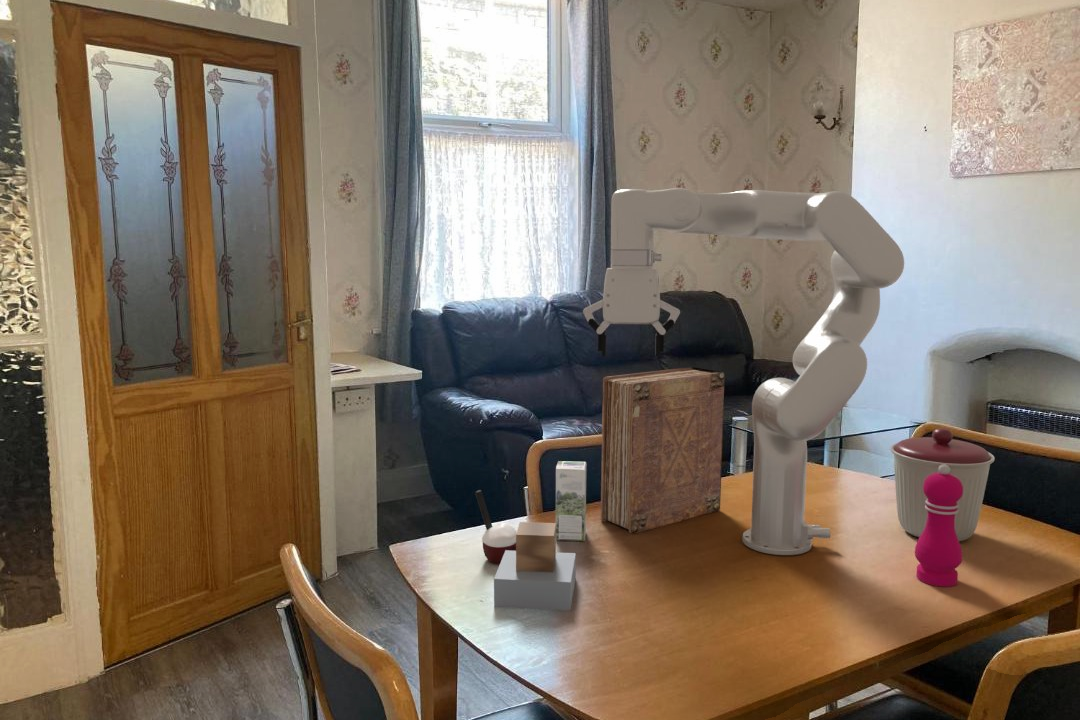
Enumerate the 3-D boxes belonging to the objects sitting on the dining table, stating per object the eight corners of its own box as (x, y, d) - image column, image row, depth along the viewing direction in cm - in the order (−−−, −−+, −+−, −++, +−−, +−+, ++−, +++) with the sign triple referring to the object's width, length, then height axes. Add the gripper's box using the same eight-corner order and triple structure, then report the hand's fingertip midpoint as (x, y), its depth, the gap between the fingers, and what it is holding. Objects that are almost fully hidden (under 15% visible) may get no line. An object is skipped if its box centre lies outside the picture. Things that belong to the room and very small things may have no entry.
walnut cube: (555, 557, 135) (555, 523, 135) (553, 572, 130) (553, 535, 129) (519, 556, 136) (519, 522, 135) (516, 570, 130) (516, 534, 129)
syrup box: (586, 531, 161) (586, 460, 159) (585, 542, 155) (585, 468, 153) (557, 530, 161) (557, 459, 159) (555, 541, 156) (555, 467, 154)
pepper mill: (941, 591, 133) (950, 472, 130) (903, 575, 139) (911, 462, 136) (970, 583, 136) (978, 467, 133) (931, 568, 143) (939, 457, 140)
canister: (886, 542, 155) (892, 434, 152) (885, 513, 171) (890, 415, 168) (994, 556, 148) (1003, 443, 145) (981, 524, 164) (989, 422, 161)
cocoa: (526, 565, 145) (530, 501, 143) (497, 572, 141) (500, 506, 139) (498, 547, 153) (501, 486, 151) (469, 553, 149) (472, 490, 147)
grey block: (575, 581, 138) (575, 553, 137) (570, 612, 126) (570, 582, 126) (505, 578, 139) (505, 550, 139) (494, 609, 128) (493, 578, 127)
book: (629, 534, 159) (631, 383, 155) (600, 521, 167) (601, 377, 163) (720, 510, 173) (725, 371, 169) (689, 499, 181) (693, 366, 177)
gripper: (679, 260, 147) (677, 353, 150) (584, 260, 149) (583, 352, 152) (682, 260, 140) (680, 359, 142) (582, 260, 142) (581, 358, 144)
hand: (630, 355), depth 147 cm, fingers open, 9 cm apart
